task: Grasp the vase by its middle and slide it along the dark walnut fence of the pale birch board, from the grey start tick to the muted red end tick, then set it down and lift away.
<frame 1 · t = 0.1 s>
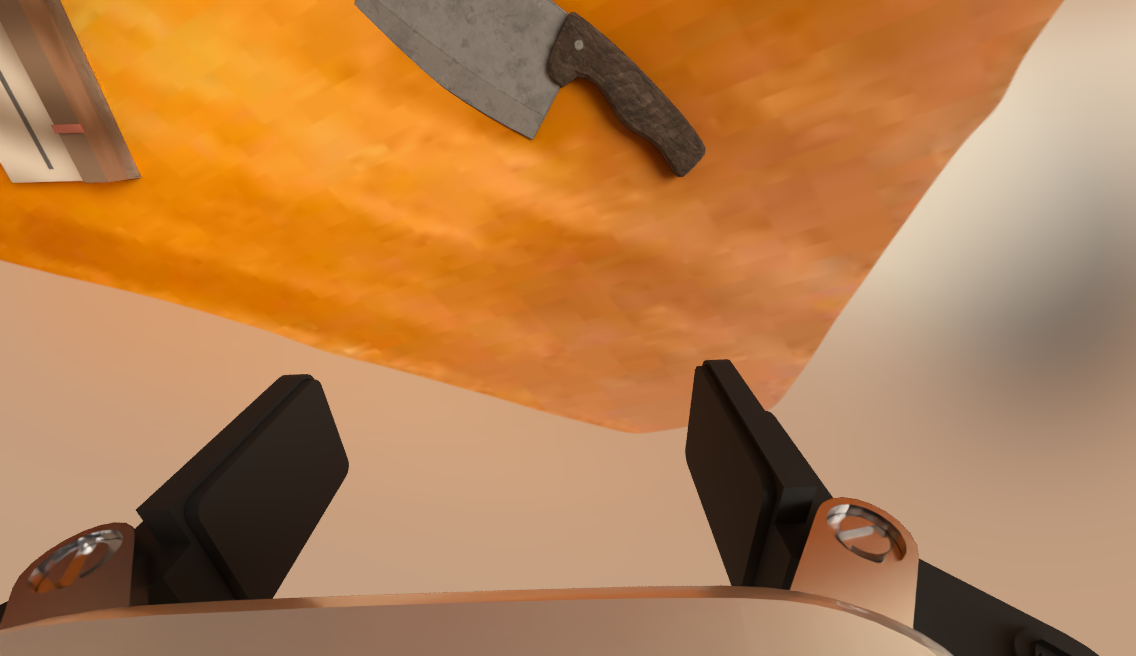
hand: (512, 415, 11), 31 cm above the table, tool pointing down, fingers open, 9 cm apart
cleaver: (544, 73, 35), on the table
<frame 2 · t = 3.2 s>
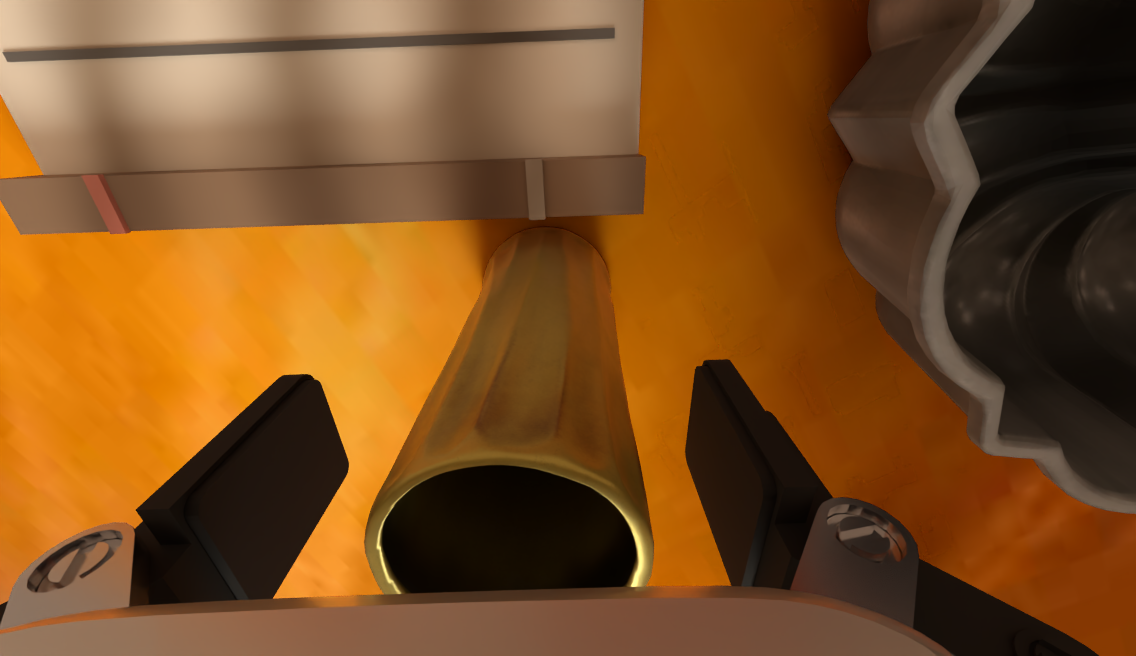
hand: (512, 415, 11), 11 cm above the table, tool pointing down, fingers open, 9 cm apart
fence board: (332, 81, 17), on the table
bundt pan: (1082, 82, 17), on the table
vase: (547, 287, 21), on the table
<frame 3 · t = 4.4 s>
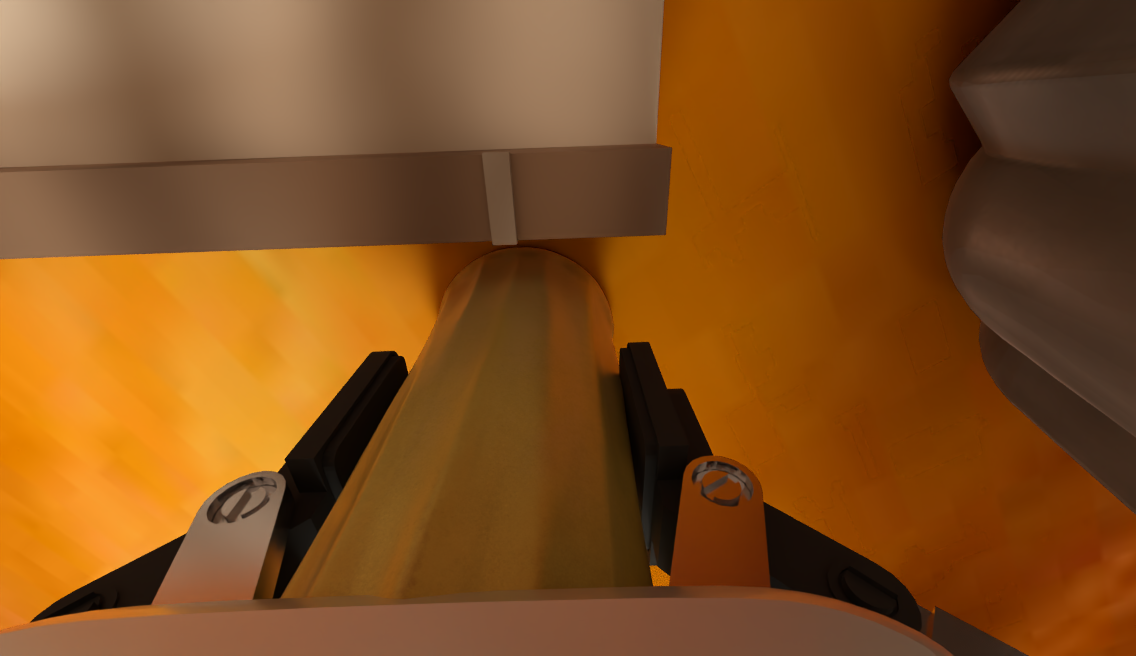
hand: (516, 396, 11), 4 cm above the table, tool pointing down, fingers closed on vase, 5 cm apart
fence board: (193, 32, 11), on the table
vase: (526, 326, 15), on the table, touching gripper
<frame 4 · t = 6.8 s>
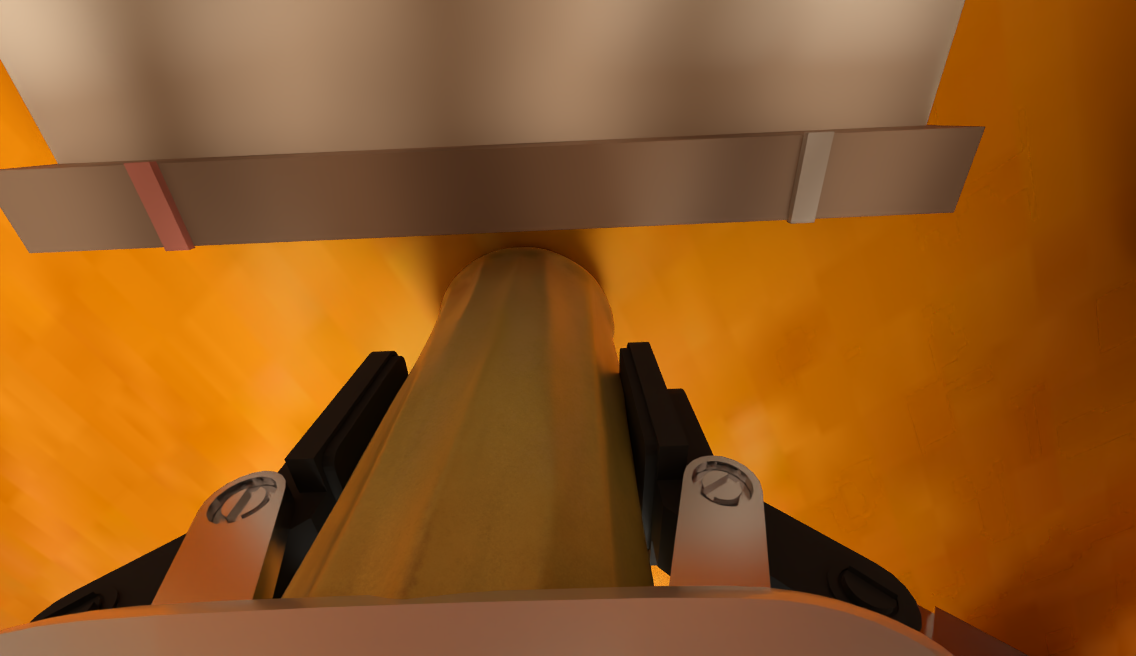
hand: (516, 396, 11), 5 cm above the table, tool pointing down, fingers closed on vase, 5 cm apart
fence board: (483, 20, 11), on the table
vase: (527, 326, 15), on the table, touching gripper
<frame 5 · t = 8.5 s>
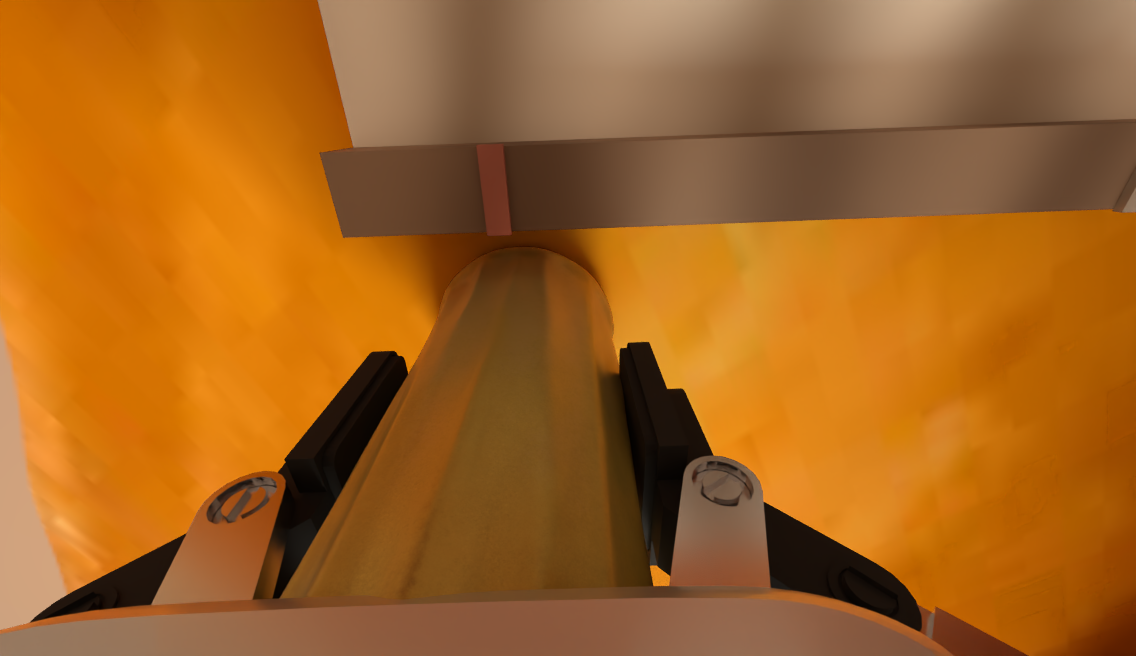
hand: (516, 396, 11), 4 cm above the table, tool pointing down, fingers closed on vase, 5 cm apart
fence board: (795, 5, 11), on the table
vase: (526, 326, 15), on the table, touching gripper
when the fingers open (4 cm above the table, at t = 9.4 s): vase stays where it is, on the table.
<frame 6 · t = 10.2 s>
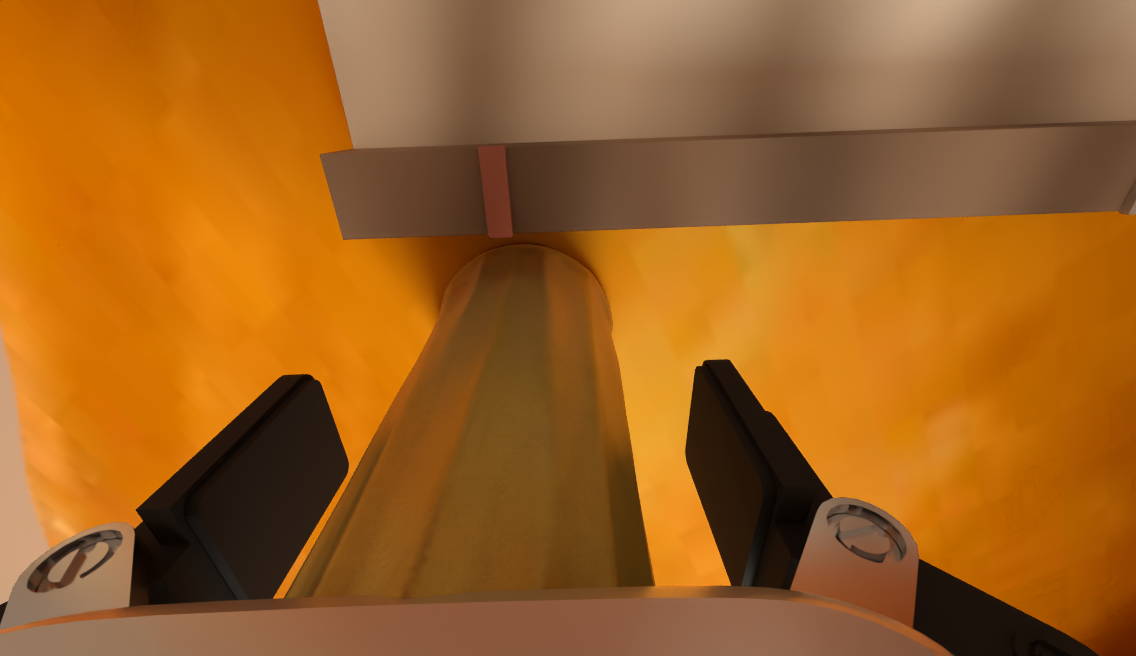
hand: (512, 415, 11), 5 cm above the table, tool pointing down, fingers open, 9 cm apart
fence board: (799, 5, 11), on the table
vase: (526, 322, 15), on the table
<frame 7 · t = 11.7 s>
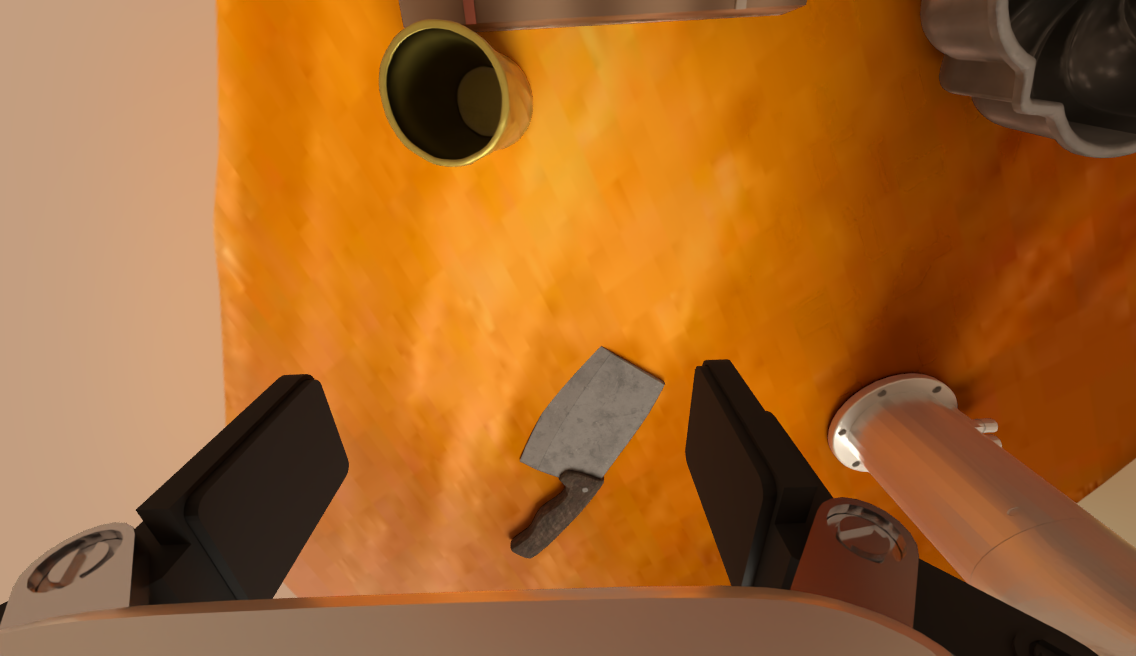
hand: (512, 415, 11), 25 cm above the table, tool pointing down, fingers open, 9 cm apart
cleaver: (566, 457, 46), on the table
vase: (489, 102, 30), on the table
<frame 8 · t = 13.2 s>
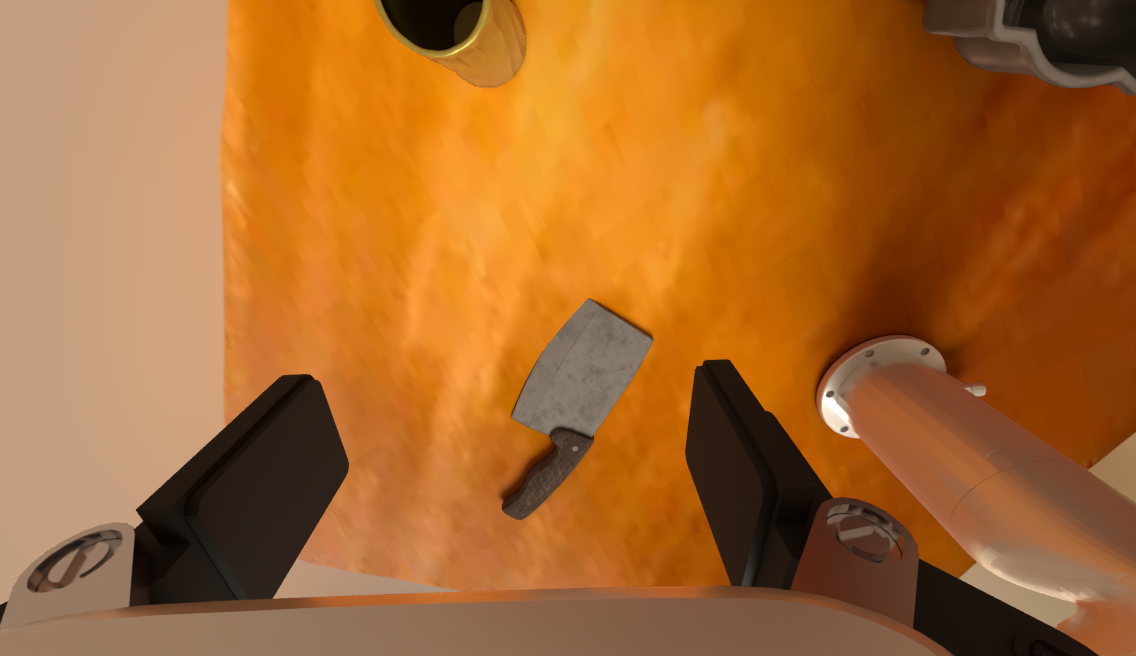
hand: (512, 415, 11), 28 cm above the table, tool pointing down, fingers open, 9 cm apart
cleaver: (557, 417, 47), on the table
vase: (485, 40, 31), on the table
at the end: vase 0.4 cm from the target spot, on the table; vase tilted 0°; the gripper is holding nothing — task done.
